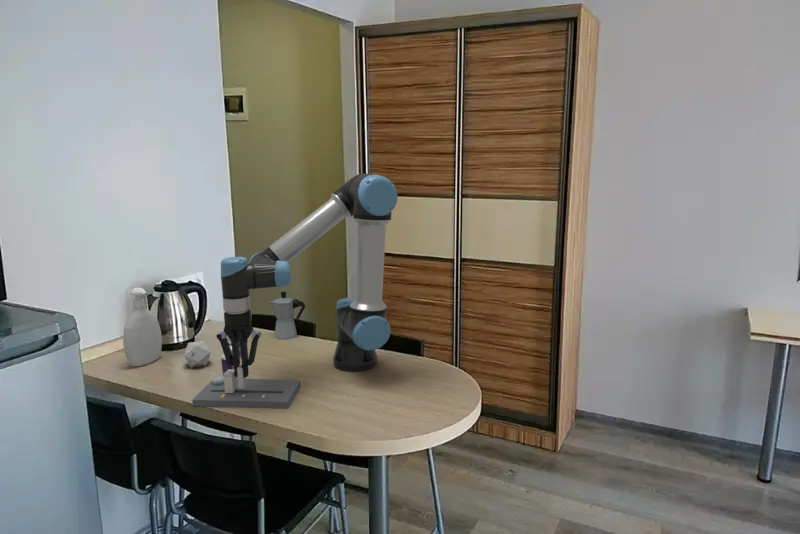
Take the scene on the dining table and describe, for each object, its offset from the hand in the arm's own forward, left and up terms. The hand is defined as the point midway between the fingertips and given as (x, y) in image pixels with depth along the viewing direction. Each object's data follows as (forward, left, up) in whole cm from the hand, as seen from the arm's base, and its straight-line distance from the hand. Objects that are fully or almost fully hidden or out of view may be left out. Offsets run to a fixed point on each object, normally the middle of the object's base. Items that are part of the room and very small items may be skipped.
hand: (242, 386), depth 177 cm
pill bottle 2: (+15, -34, -4) cm, 37 cm away
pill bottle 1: (+10, -17, -4) cm, 20 cm away
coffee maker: (+2, -58, -4) cm, 58 cm away
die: (+25, -26, -4) cm, 36 cm away
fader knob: (+3, 0, -1) cm, 4 cm away
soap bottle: (+44, -27, -4) cm, 51 cm away
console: (-1, -2, -4) cm, 4 cm away
